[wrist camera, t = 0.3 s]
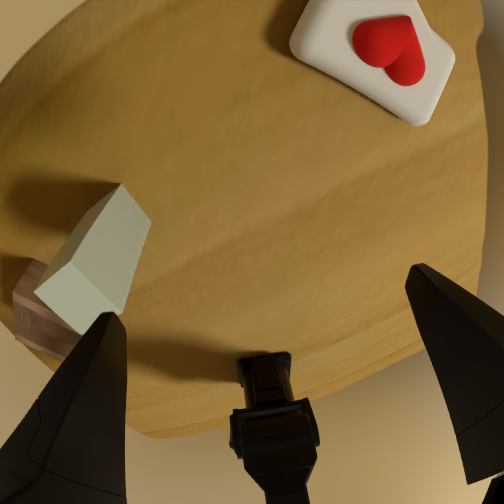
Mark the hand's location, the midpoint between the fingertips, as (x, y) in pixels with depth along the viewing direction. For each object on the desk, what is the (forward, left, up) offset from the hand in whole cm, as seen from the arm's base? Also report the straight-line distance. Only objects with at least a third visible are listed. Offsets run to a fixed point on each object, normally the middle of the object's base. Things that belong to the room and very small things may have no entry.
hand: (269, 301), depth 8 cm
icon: (+9, -11, -16) cm, 21 cm away
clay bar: (-4, +10, -15) cm, 18 cm away
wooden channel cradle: (-13, +19, -15) cm, 27 cm away
